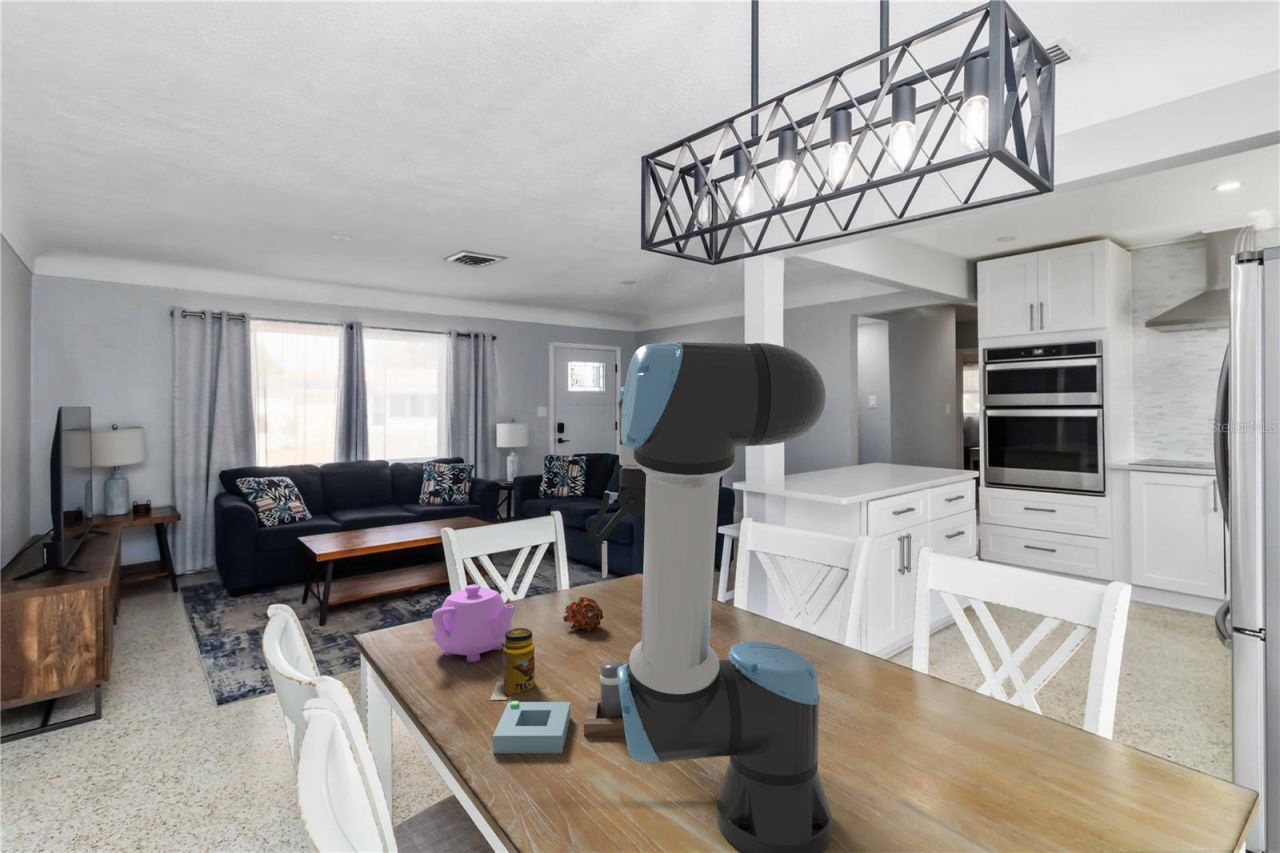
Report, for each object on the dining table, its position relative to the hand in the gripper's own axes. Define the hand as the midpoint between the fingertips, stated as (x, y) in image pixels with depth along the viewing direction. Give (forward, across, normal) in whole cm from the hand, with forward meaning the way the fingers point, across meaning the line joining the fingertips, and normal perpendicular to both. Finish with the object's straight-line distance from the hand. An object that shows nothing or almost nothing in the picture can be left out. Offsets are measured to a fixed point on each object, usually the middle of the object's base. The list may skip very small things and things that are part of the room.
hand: (639, 576), depth 118 cm
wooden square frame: (+24, +5, +12) cm, 27 cm away
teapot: (+23, +38, -20) cm, 49 cm away
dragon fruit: (+23, +16, -36) cm, 46 cm away
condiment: (+24, +25, -2) cm, 34 cm away
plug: (+22, +5, +12) cm, 26 cm away
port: (+24, +18, +16) cm, 34 cm away
